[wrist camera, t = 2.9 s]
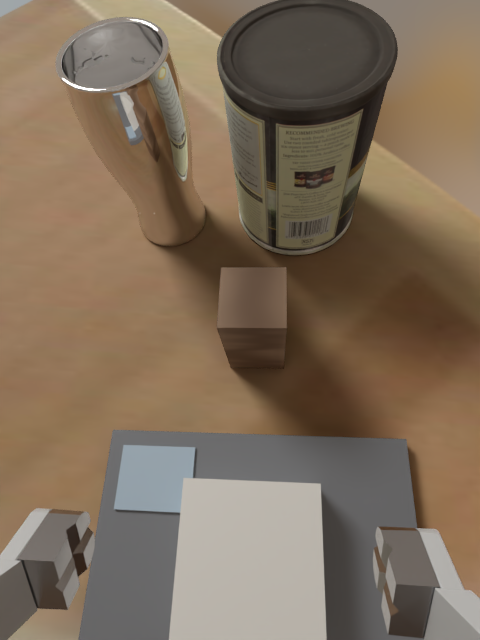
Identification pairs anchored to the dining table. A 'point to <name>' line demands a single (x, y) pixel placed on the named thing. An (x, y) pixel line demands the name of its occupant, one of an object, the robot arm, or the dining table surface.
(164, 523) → the build base
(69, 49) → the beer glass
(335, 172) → the coffee can
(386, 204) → the dining table surface
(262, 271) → the walnut column
